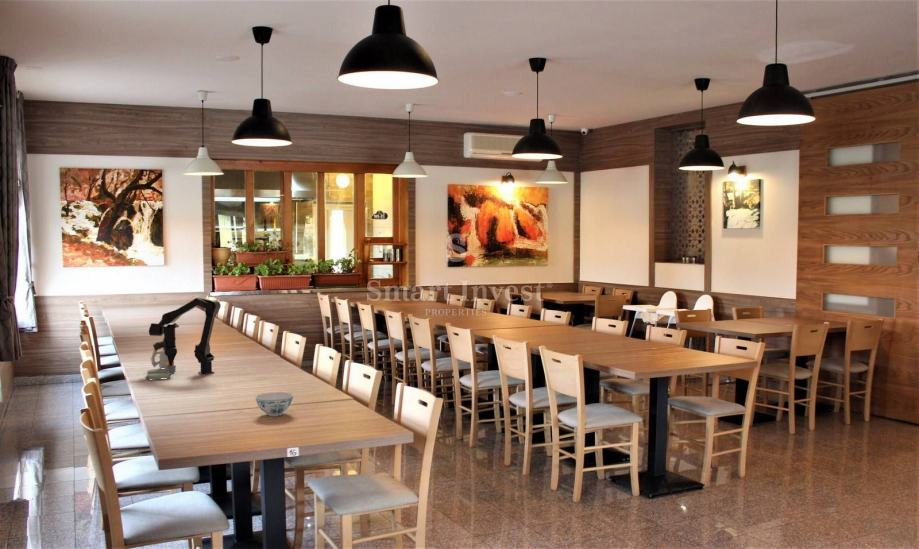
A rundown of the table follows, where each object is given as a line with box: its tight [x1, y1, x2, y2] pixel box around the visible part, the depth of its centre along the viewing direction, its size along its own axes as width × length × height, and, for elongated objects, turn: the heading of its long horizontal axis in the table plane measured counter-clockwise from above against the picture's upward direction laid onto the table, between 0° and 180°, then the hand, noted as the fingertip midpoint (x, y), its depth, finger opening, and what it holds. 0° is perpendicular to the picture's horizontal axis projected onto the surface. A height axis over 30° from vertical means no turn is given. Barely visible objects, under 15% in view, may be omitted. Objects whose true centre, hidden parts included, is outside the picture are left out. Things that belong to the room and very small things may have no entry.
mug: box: [150, 348, 168, 369], centre depth 435 cm, size 8×12×12 cm, turn 120°
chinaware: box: [255, 391, 294, 417], centre depth 320 cm, size 15×15×8 cm
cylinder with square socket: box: [164, 364, 177, 374], centre depth 421 cm, size 5×5×4 cm
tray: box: [146, 369, 171, 381], centre depth 408 cm, size 15×11×2 cm
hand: (170, 364), depth 421 cm, fingers open, 5 cm apart
